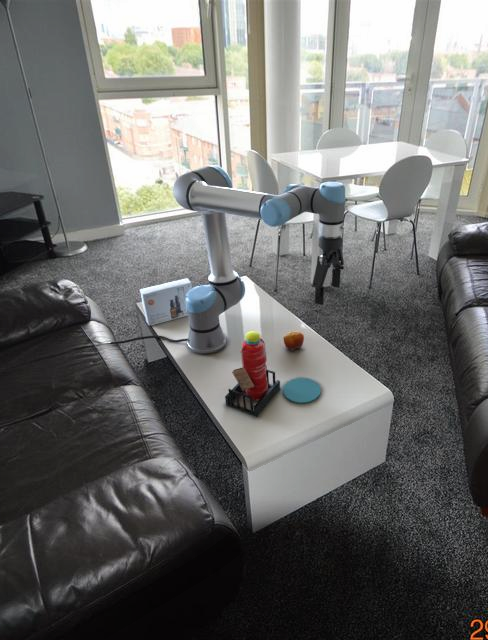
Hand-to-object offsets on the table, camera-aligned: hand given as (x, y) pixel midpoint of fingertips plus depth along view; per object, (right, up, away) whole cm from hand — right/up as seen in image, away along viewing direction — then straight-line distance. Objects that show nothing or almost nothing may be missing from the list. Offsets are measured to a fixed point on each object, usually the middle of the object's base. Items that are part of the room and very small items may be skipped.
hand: (327, 295), depth 149 cm
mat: (-9, -33, +3) cm, 34 cm away
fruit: (-11, -18, +25) cm, 33 cm away
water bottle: (-25, -35, 0) cm, 43 cm away
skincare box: (-65, -5, +45) cm, 79 cm away
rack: (-25, -35, 0) cm, 43 cm away
